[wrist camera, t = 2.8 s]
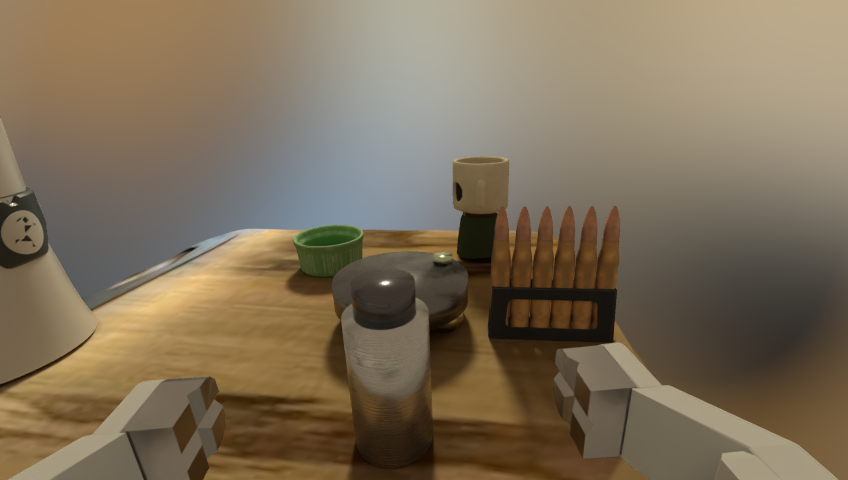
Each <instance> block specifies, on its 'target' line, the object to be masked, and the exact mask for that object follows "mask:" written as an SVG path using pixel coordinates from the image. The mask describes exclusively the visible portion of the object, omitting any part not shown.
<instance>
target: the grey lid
mask: <svg viewBox="0 0 848 480" xmlns="http://www.w3.org/2000/svg"><path fill="white" fill-rule="evenodd" d="M377 269H399V270H403V271H406V272H408V273H410V274H412V275H413V276H414V279H415V294H416V298H418V299H420V300H421V301H423V302H424V303H425V304H426V306H427V307H428V313H429V331H430V330H435V331H438V332H443V333H445V332H451V331H453V330H455V329H456V328H457V326H458V325H459V324H461V323H462V321H463V312H464V310H465V309H466V307H467V304H468V273H467V271H466V269H465V268H464V266H463V265H461V264H460V263H459V262H457V261H455V260H453V259H452V254H450V253H447V252H439V253H435V254H433V253H426V252H407V251H406V252H391V253H384V254H378V255H374V256H369V257H366V258H363V259H360V260H357V261H355V262H353V263H350V264H349V265H347V266H345V267H344V268H342V269H341V270H340V271H338V272H337V273H336V275H335V276H334V278H333V280H332V290H333V298H334V306H335V312H336V314H337V316H338V318H339V319H340V320H341V316H342V313H343V311H344V310H345V309H346V308H347V307H348V306H349V305H351V304H352V299H351V289H350V283H351V281H352V280H353V279H354V278H355V277H356V276H358V275H360V274H362V273H365V272H368V271H372V270H377Z"/></svg>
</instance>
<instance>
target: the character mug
mask: <svg viewBox="0 0 848 480" xmlns="http://www.w3.org/2000/svg"><path fill="white" fill-rule="evenodd" d="M508 181H509V160H508V159H506V158H501V157H488V156H487V157H486V156H480V157H466V158H459V159H456V160H453V204H454V208H455V209H457V210H459V211H462V212H463V215H462V217H461V221H460V228H459V236H458V246H457V254H458V255H460V256H461V257H464V258H468V259H476V258H478V259H479V260H481V259H482V258H490V257H491V256H492V251H493V245H494V234H495V224H496V219H497V216H498V214H497V212H499V210H500V208H501V207H504V209H506V208H507V205H508V183H509V182H508Z"/></svg>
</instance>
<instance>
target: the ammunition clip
mask: <svg viewBox="0 0 848 480" xmlns="http://www.w3.org/2000/svg"><path fill="white" fill-rule="evenodd" d="M619 235H620V218H619V213H618V209H617V207H616V206H614V207H613V208H612V209H611V211H610V213H609V215H608V218H607V221H606V224H605V228H604V234H603V239H602V245H601V249H600V252H599V255H598V260H597V252H596V245H597V240H596V239H597V217H596V212H595V209H594V207H593V206H591V207H590V208H589V210H588V212H587V214H586V217H585V220H584V223H583V227H582V233H581V240H580V245H579V250H578V253H577V256H576V265H575V252H574V236H575V222H574V215H573V211H572V208H571V207H570V206H569V207H568V208H567V209H566V211H565V213H564V216H563V219H562V223H561V228H560V235H559V241H558V248H557V251H556V255H555V263H554V275H553V261H554V256H553V249H552V248H553V240H552V237H553V225H552V216H551V212H550V209H549V207H548V206H547V207H545V209H544V211H543V213H542V216H541V219H540V224H539V229H538V239H537V246H536V250H535V254H534V263H533V279H531V266H532V254H531V240H530V236H531V228H530V218H529V213H528V210H527V208H526V207H523V208H522V210H521V212H520V216H519V219H518V223H517V230H516V239H515V249H514V253H513V258H512V279H510V260H511V257H510V250H509V227H508V219H507V214H506V211H505V209H504V207H501V208H500V210H499V212H498V216H497V219H496V224H495V234H494V245H493V251H492V256H491V288H490V308H489V320H488V337H489V338H496V339H523V340H551V341H579V342H606V343H611V342H612V341H613V335H614V322H615V309H616V296H617V290H616V281H617V273H618V265H619V250H618V249H619ZM596 265H597V269H596ZM574 267H575V275H574ZM595 274H596V277H595ZM552 275H553V280H552ZM573 278H574V280H573ZM530 300H531V310H530V317H529V306H530ZM509 301H510V317H509ZM571 301H572V304H571ZM550 303H551V311H550ZM570 312H571V313H570Z"/></svg>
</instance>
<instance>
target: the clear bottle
mask: <svg viewBox="0 0 848 480" xmlns="http://www.w3.org/2000/svg"><path fill="white" fill-rule="evenodd" d="M350 289H351V299H352V304H351V305H349V306H348V307H347V308H346V309H345V310H344V311H343V313H342V316H341V323H342V332H343V340H344V348H345V356H346V365H347V373H348V381H349V390H350V398H351V406H352V415H353V423H354V431H355V439H356V447H357V450H358V452H359V454H360V455H361V457H362V458H363V459H364V460H365V461H367V462H368V463H370V464H372V465H374V466H376V467H380V468H386V469H395V468H401V467H405V466H408V465H410V464H413V463H414V462H416V461H418V460H419V459H420V458H422V457H423V456H424V455H425V454H426V452H427V451H428V450H429V448H430V446H431V444H432V440H433V418H432V392H431V366H430V339H429V313H428V307H427V306H426V304H425V303H424V302H423V301H421V300H420V299H418V298H416V294H415V279H414V276H413V275H412V274H410V273H408V272H406V271H403V270H399V269H377V270H372V271H368V272H365V273H362V274H360V275H358V276H356V277H355V278H354V279H353V280H352V281H351V283H350Z"/></svg>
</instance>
